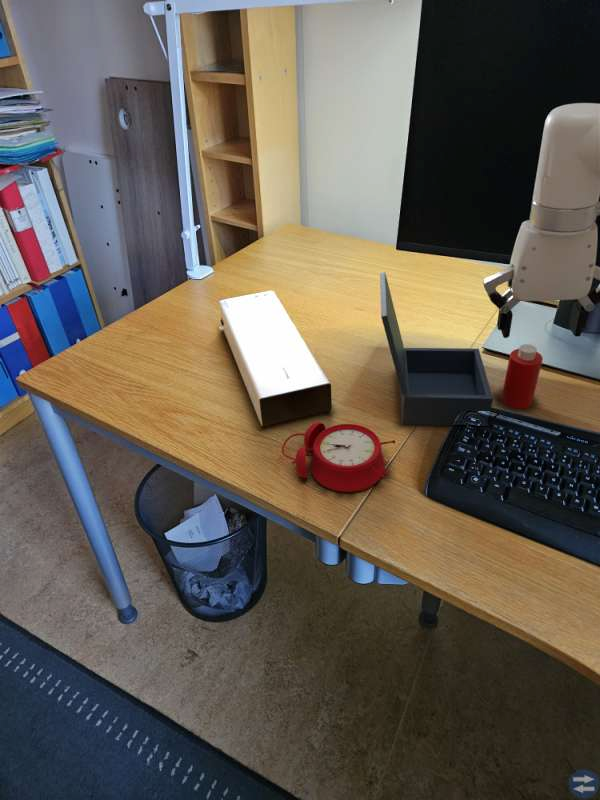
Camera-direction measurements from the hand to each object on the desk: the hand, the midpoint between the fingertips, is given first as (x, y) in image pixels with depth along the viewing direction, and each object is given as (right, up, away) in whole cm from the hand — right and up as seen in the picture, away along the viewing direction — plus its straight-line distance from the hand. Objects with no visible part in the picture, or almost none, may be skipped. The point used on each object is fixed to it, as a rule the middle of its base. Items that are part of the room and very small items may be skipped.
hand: (539, 332), depth 81 cm
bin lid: (-20, 0, +2) cm, 20 cm away
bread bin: (-12, -10, +9) cm, 18 cm away
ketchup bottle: (0, -10, +8) cm, 12 cm away
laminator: (-40, -4, +19) cm, 45 cm away
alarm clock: (-30, -19, -2) cm, 35 cm away
